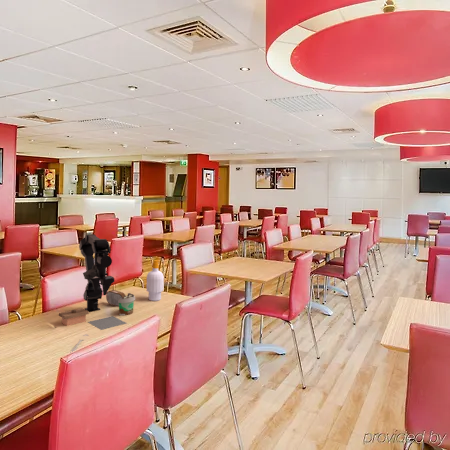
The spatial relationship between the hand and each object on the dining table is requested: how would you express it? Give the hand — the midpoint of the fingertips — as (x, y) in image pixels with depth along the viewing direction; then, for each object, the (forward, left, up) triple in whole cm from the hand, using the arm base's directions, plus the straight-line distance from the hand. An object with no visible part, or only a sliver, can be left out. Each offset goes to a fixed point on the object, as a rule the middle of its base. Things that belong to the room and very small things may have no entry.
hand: (100, 293), depth 205 cm
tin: (-13, +17, -13) cm, 25 cm away
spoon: (+26, -24, -14) cm, 38 cm away
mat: (+11, -2, -13) cm, 17 cm away
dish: (0, -14, -13) cm, 19 cm away
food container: (+5, +14, -13) cm, 20 cm away
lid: (0, -14, -8) cm, 16 cm away
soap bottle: (-9, +41, -13) cm, 44 cm away
